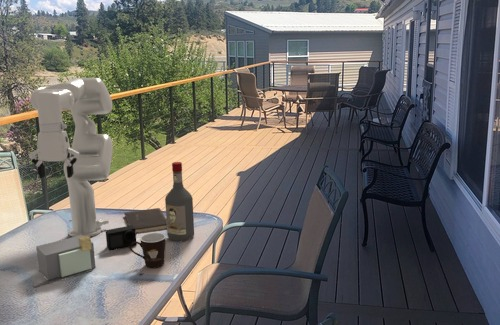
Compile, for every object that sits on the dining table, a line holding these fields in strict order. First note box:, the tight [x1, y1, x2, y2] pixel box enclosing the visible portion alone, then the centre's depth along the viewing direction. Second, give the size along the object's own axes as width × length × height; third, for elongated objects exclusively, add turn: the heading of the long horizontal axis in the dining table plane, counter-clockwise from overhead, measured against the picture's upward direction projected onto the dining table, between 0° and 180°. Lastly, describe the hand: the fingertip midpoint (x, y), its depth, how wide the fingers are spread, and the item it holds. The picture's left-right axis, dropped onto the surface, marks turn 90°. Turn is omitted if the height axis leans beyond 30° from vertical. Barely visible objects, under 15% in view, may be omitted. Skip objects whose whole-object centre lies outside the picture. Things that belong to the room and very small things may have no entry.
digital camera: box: [105, 225, 138, 251], centre depth 199 cm, size 10×5×7 cm, turn 118°
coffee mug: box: [129, 232, 167, 269], centre depth 183 cm, size 12×9×10 cm
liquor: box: [164, 161, 195, 243], centre depth 205 cm, size 9×9×30 cm
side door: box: [59, 236, 93, 277], centre depth 175 cm, size 10×3×12 cm, turn 128°
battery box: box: [32, 235, 96, 288], centre depth 178 cm, size 21×12×9 cm, turn 128°
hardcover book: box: [123, 207, 167, 234], centre depth 226 cm, size 16×23×2 cm
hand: (56, 177), depth 183 cm, fingers open, 9 cm apart
